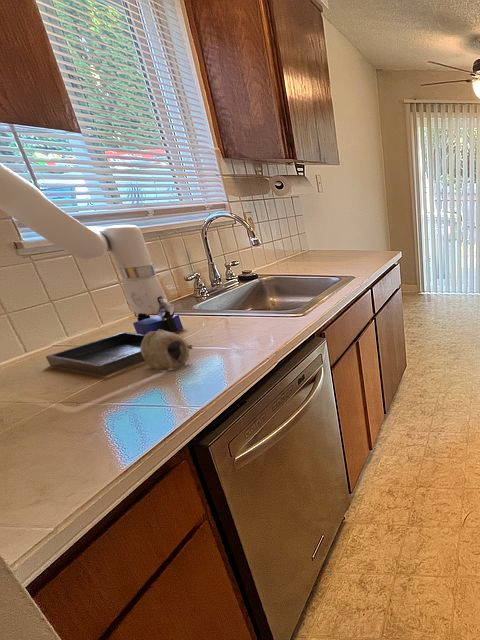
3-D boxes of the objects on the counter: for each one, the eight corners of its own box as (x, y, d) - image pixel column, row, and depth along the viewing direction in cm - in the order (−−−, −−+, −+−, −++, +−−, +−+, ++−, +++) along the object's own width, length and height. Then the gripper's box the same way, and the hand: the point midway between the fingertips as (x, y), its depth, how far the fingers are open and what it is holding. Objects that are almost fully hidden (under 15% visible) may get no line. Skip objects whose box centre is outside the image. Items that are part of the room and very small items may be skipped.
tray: (51, 368, 97) (45, 356, 96) (128, 342, 112) (124, 331, 111) (105, 378, 91) (99, 366, 90) (179, 350, 107) (175, 338, 105)
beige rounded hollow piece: (155, 382, 95) (121, 350, 89) (166, 363, 101) (135, 332, 95) (194, 366, 96) (163, 334, 90) (202, 348, 102) (174, 317, 96)
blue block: (139, 339, 115) (132, 322, 113) (169, 328, 123) (164, 313, 121) (153, 341, 113) (147, 324, 111) (184, 330, 121) (178, 314, 119)
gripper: (101, 273, 109) (125, 332, 116) (146, 276, 104) (168, 338, 111) (131, 268, 116) (151, 324, 123) (174, 271, 111) (193, 329, 118)
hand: (159, 330), depth 117 cm, fingers open, 9 cm apart
